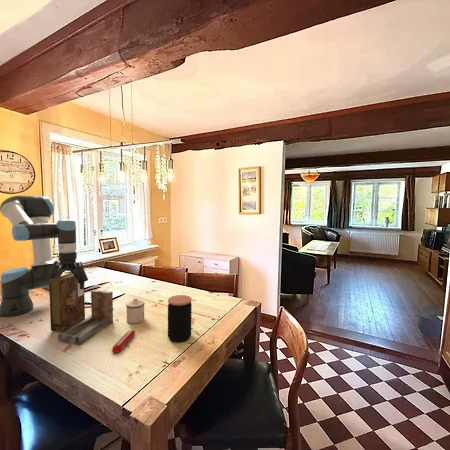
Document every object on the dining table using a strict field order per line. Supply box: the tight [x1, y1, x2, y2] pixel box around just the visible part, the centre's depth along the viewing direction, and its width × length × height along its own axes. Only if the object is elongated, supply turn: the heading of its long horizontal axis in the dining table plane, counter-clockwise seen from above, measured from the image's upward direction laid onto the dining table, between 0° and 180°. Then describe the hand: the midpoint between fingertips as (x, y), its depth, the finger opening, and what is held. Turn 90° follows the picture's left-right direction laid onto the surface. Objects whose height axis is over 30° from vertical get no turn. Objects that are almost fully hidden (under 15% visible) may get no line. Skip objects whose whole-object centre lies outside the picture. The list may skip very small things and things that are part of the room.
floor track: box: [57, 289, 114, 346], centre depth 120 cm, size 11×22×16 cm, turn 167°
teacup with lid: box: [125, 297, 146, 325], centre depth 133 cm, size 12×9×12 cm
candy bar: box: [111, 329, 136, 353], centre depth 111 cm, size 16×4×3 cm, turn 175°
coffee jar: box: [167, 294, 193, 344], centre depth 116 cm, size 11×11×18 cm
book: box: [48, 272, 86, 333], centre depth 125 cm, size 16×6×25 cm, turn 168°
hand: (69, 294), depth 125 cm, fingers open, 13 cm apart
